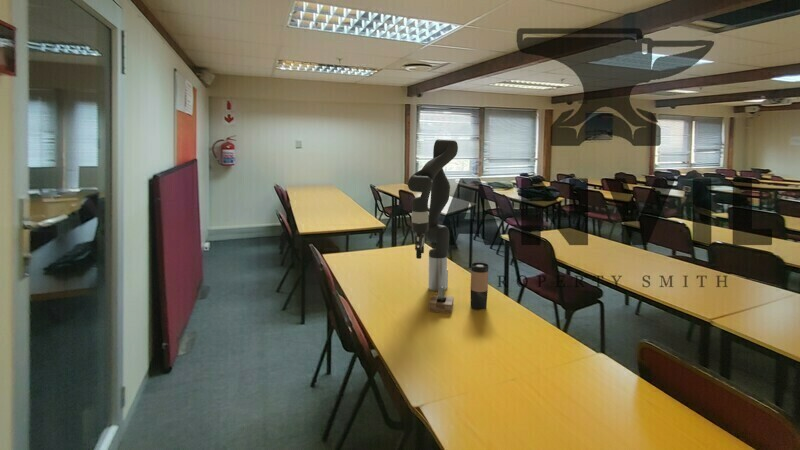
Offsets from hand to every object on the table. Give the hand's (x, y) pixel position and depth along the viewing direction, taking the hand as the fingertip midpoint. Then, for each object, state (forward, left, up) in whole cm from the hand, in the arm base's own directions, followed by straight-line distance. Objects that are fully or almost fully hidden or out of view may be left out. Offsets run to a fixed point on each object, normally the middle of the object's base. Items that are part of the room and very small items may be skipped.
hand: (420, 255), depth 187 cm
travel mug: (-16, +21, -23) cm, 36 cm away
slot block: (-3, +10, -23) cm, 26 cm away
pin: (-3, +10, -23) cm, 25 cm away
